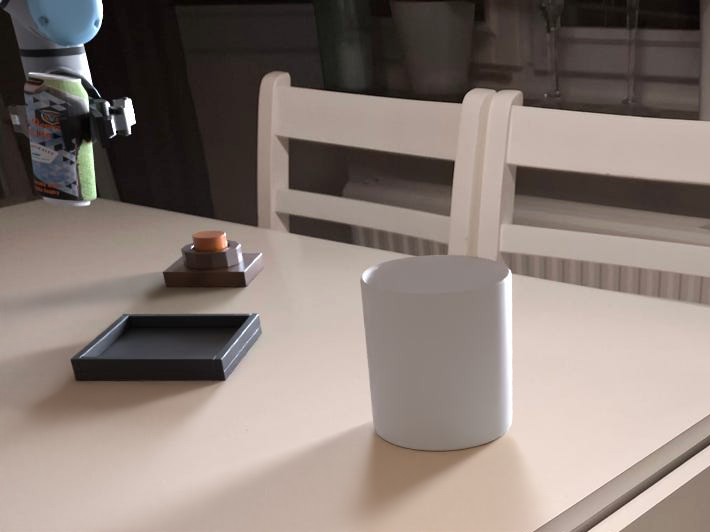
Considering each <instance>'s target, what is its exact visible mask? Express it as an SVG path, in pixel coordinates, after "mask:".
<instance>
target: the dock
mask: <svg viewBox="0 0 710 532" xmlns="http://www.w3.org/2000/svg"><path fill="white" fill-rule="evenodd" d="M262 333H263V331H262V325H261V319H260V314H259V313H123V314H121V316H119V317H118V318H117V319H116V320H114V321H113V322H112V323H111V324H109V326H108V327H106V328H105V329H104V330H103V331H101V333H100V334H98V335H97V336H96V337H95V338H93V339H92V340H91V341H90V342H89V343H88V344H86V345H85V346H84V347H83V348H81V349H80V351H78V352H77V353H75V355H73V356H72V357H71V358H70V364H71V368H72V371H73V375H74V378H75V381H226V380H227V379H228V378H229V377H230V375H231V374H232V372H234V370H235V368H236V367H237V366H238V365H239V363H240V362H241V361H242V359H243V358H244V357H245V355H247V353H248V352H249V350H250V349H251V348H252V346H253V345H254V344H255V342H256V341H257V340H258V339H259V338H260V336H261V335H262Z"/></svg>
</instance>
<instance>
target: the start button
mask: <svg viewBox="0 0 710 532" xmlns="http://www.w3.org/2000/svg"><path fill="white" fill-rule="evenodd" d="M191 239H192V243H193V244H194V250H196V251H215V250H222V249H225V248H228V246H227V240H228V239H227V234H226V232H224V231H222V230H204V231H199V232H195V233H193V234H192V235H191Z"/></svg>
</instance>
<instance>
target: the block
mask: <svg viewBox="0 0 710 532" xmlns="http://www.w3.org/2000/svg"><path fill="white" fill-rule="evenodd" d="M226 240H227V246H228V248H225V249H222V250H215V251H196V250H194V244H193V242H192V243H188V244H186V245H184V246H183V247H182V248H181V249H180V250H181V256H180V257H179V258H178V259H177V260H175V261H174V262H173V263H172V264H171V265H169V266H168V267H167V268H165V270H163V271H162V276H163V280H164V285H165V286H164V287H166V288H197V287H198V288H199V287H200V288H202V287H203V288H205V287H206V288H207V287H208V288H209V287H213V288H215V287H221V288H223V287H227V288H228V287H248V285H250V283H251V282H252V281H253V280H254V279H255V278H256V276H258V274H260V272H261V271H262V270H263V269H264V268H265V266H264V265H265V264H264V258H263V253H262V252H243V253H242V246H241V244H240V243H239V242H237V241H235V240H229V239H226Z"/></svg>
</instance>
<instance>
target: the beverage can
mask: <svg viewBox="0 0 710 532" xmlns="http://www.w3.org/2000/svg"><path fill="white" fill-rule="evenodd" d="M28 75H29V78H28V80H26V82H25V83H24V87H23V94H24V104H25V105H26V113H27V121H28V130H29V138H28V139H29V146H30V155H31V164H32V174H33V181H34V190H35V194H36V195H38V196H40V197H42V198H43V202H46V203H48V204H51V205H55V206H56V205H57V206H65V207H87V206H89V205H90V204H91V201H94V200H96V199H97V197H98V196H97V187H96V176H95V175H96V174H95V163H94V161H95V160H94V151H93V144H92V137H91V125H90V114H89V102H88V95H87V93H86V91H85V89H84V88H83V86H82V85H81V79H79V78H75V77H69V76H63V75H55V74H45V73H28ZM58 117H66V119H67V122H68V126H69V130H70V134H71V139H72V143H73V147H74V151H66V149H65V146H64V142H63V137H62V133H61V129H60V125H59V121H58Z"/></svg>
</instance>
